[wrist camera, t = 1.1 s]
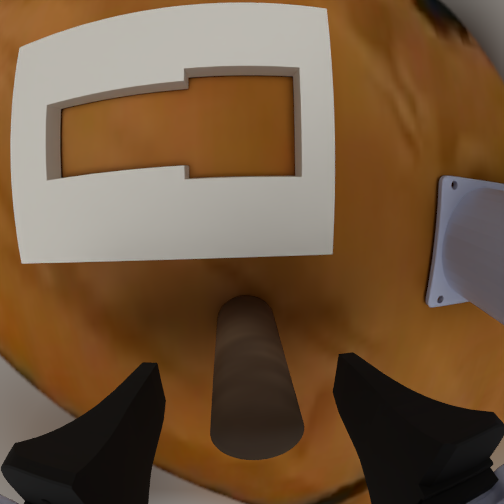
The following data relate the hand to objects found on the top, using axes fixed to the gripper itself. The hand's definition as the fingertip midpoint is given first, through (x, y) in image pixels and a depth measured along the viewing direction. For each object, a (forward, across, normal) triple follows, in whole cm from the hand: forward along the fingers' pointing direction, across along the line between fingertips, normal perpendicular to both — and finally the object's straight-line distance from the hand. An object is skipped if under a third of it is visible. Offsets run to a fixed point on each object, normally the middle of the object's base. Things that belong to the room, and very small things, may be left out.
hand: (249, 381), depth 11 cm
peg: (+5, 0, 0) cm, 5 cm away
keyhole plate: (+5, +4, -10) cm, 12 cm away
